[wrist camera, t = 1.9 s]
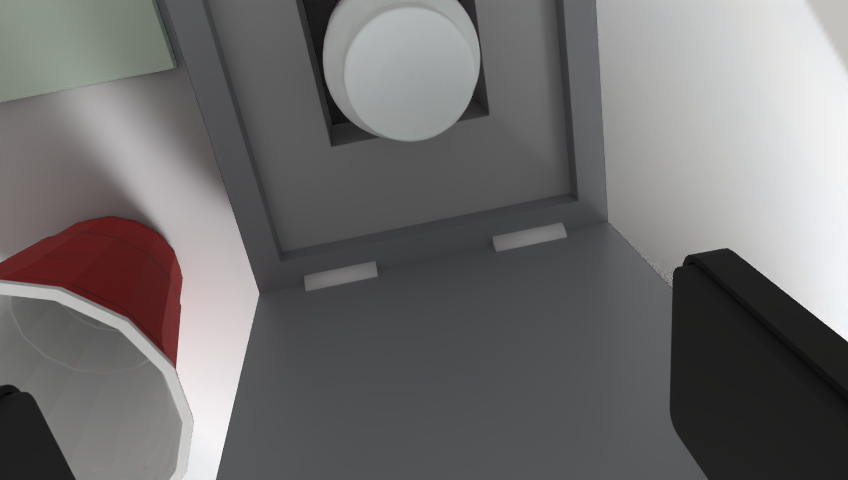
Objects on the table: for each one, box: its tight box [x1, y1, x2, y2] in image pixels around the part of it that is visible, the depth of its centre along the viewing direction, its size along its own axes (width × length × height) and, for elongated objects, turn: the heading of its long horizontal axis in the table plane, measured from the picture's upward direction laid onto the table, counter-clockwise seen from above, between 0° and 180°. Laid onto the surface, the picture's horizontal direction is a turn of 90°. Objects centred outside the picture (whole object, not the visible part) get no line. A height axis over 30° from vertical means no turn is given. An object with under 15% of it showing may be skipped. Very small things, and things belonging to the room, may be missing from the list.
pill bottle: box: [323, 0, 480, 142], centre depth 24 cm, size 5×5×10 cm
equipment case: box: [165, 0, 708, 480], centre depth 20 cm, size 15×16×18 cm
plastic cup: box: [0, 216, 194, 480], centre depth 26 cm, size 11×11×12 cm
